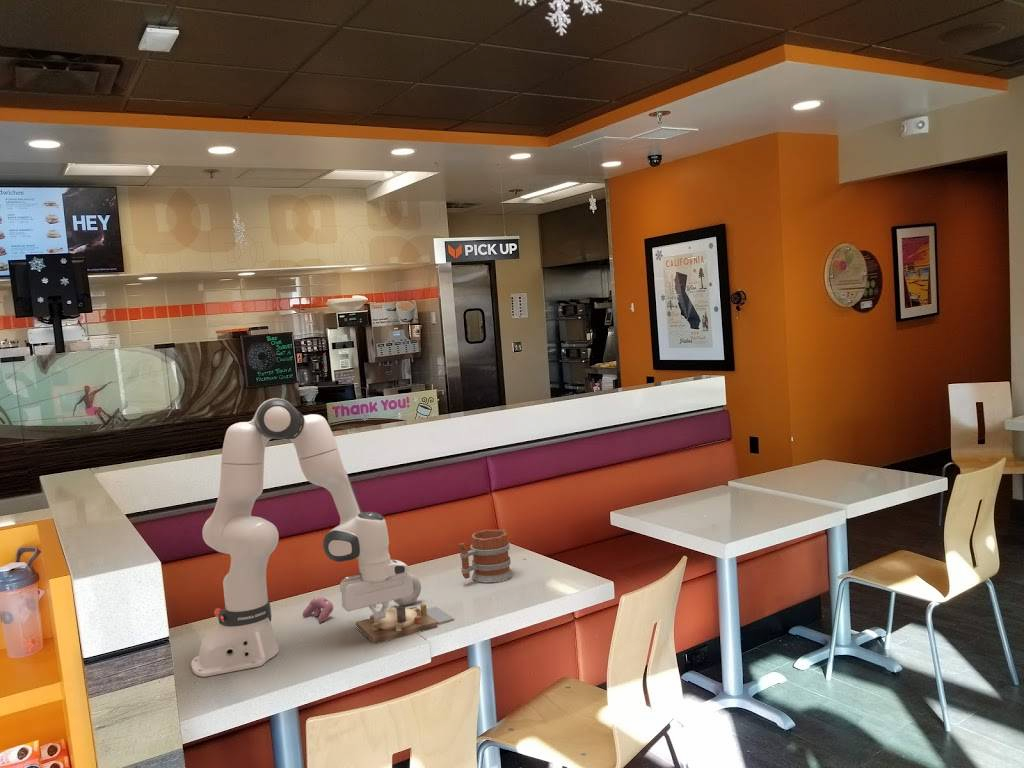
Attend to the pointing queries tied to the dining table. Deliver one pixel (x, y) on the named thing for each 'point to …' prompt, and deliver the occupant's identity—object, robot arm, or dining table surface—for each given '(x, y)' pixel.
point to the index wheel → (397, 619)
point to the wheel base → (385, 635)
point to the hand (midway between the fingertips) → (380, 618)
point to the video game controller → (319, 608)
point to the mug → (487, 557)
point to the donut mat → (439, 615)
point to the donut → (414, 595)
